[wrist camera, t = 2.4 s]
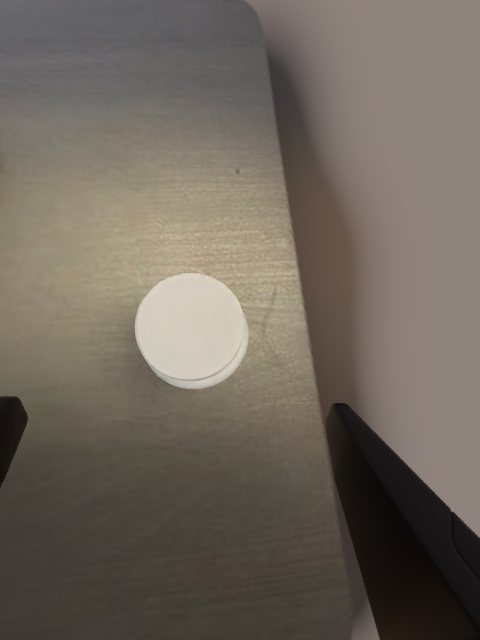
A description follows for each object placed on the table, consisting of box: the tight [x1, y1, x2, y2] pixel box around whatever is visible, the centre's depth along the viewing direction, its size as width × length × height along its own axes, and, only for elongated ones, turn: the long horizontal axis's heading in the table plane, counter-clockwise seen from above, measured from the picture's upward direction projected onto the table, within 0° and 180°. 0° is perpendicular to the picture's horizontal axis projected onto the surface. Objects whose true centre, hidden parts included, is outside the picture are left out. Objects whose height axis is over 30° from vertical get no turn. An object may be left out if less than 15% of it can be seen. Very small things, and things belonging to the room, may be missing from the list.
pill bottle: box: [135, 273, 249, 389], centre depth 15 cm, size 5×5×8 cm
